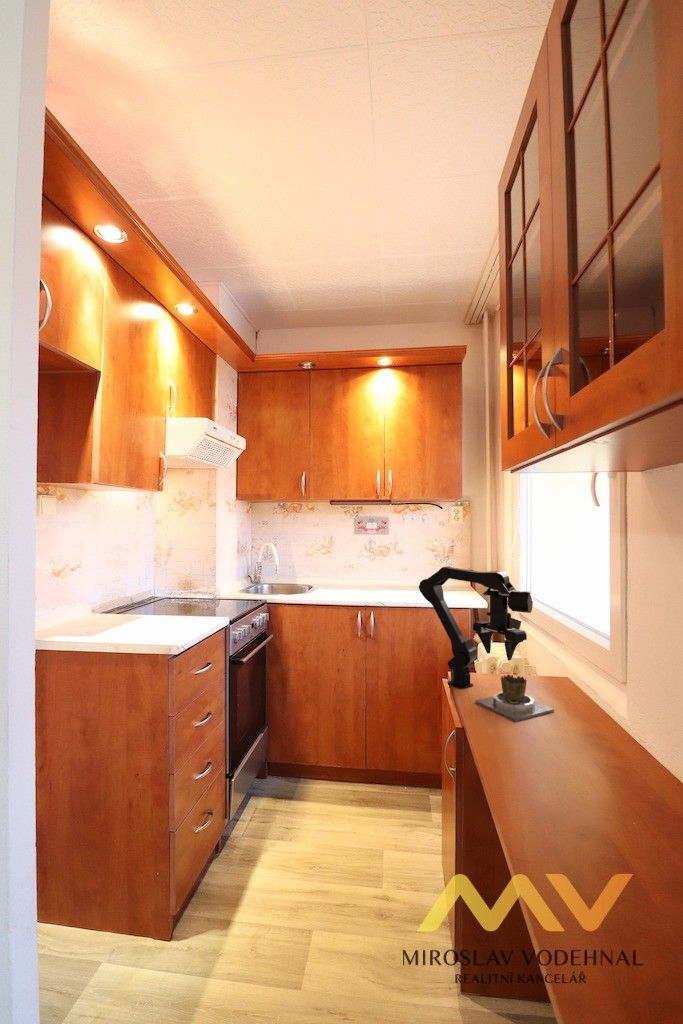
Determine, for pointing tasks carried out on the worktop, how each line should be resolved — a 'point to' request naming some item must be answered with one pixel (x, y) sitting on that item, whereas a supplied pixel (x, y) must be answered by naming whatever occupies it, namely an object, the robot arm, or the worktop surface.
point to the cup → (513, 688)
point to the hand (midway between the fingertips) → (498, 656)
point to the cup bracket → (514, 707)
